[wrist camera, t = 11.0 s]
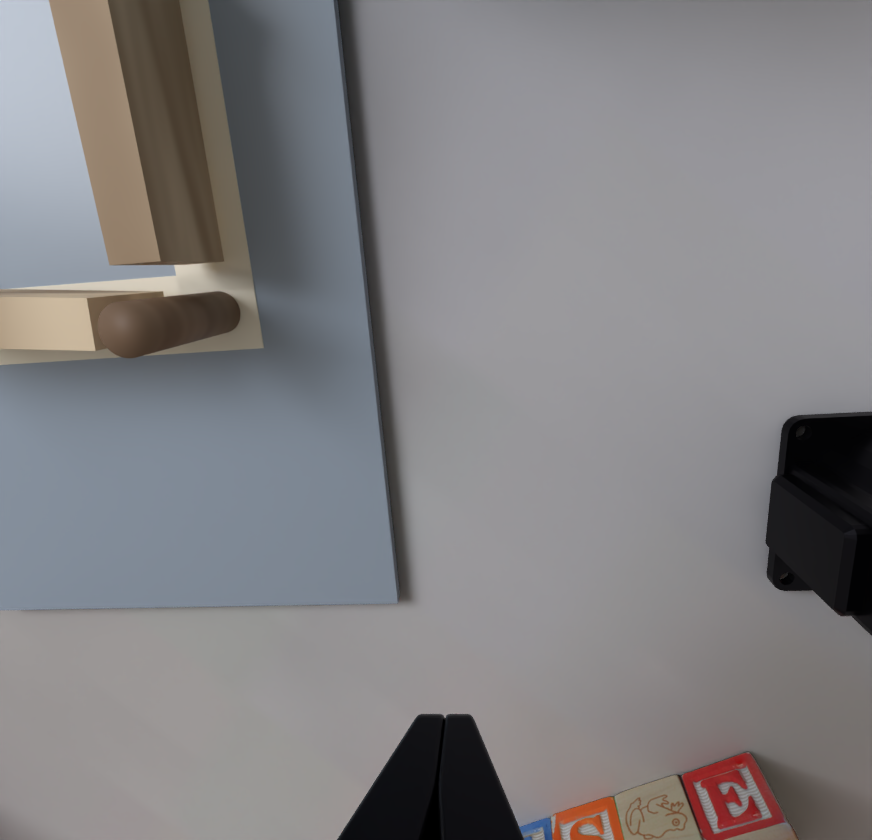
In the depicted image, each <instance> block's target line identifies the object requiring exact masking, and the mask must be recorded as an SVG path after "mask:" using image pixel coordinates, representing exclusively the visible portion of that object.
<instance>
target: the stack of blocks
mask: <svg viewBox="0 0 872 840" xmlns="http://www.w3.org/2000/svg"><path fill="white" fill-rule="evenodd" d="M519 828H520V830H521V833H522V835H523V838H524V840H799V839H798V837H797V835H796V833H795V831H794V829H793V828H792V826H791V825H790V824H789V822H788V820H787V818H786V816H785V814H784V812H783V810H782V808H781V806H780V805H779V803H778V801H777V799H776V797H775V795H774V793H773V791H772V789H771V787H770V786H769V784H768V782H767V780H766V778H765V776H764V774H763V773H762V771H761V769H760V767H759V765H758V764H757V762H756V761H755V759H754V757H753V756H752V754H751V753H749V752H747V753H743V754H740V755H737V756H734V757H731V758H728V759H725V760H723V761H720V762H717V763H714V764H711V765H708V766H705V767H703V768H700V769H697V770H694V771H691V772H688V773H685V774H683V775H682V776H681V777H680V776H678V775H673V776H669V777H666V778H663V779H660V780H657V781H654V782H651V783H647V784H644V785H641V786H638V787H635V788H632V789H629V790H626V791H624V792H622V793H619V794H617V795H616V796H615V797H606V798H603V799H599V800H596V801H593V802H590V803H587V804H584V805H581V806H578V807H575V808H571V809H568V810H565V811H563V812H559V813H556V814H554V815H553V816H552V817H551V818H545V819H542V820H539V821H536V822H533V823H531V824H528V825H524V826H521V827H519Z"/></svg>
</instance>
